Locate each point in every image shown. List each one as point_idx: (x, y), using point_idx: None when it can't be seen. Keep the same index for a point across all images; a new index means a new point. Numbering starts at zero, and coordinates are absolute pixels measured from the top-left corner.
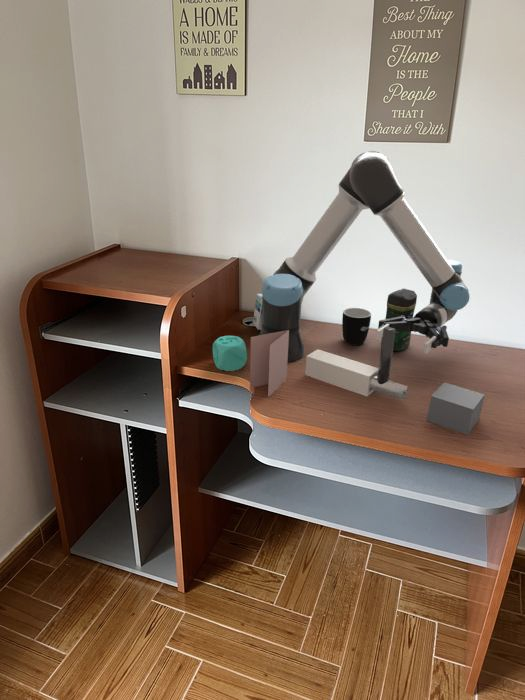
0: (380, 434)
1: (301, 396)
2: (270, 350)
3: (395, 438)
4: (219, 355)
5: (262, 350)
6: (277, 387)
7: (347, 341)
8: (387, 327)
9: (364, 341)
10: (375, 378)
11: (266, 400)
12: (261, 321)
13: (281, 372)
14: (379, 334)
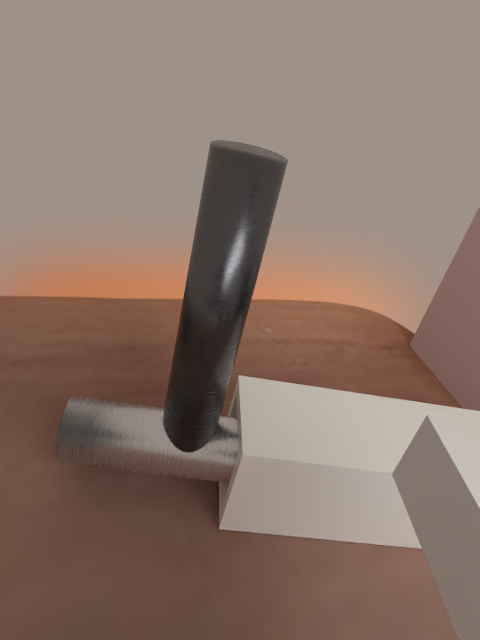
0: (103, 309)
1: (366, 372)
2: (472, 227)
3: (61, 306)
4: None
5: None
6: (440, 378)
7: None
8: (277, 163)
9: None
10: (223, 418)
11: (398, 336)
12: None
13: (472, 362)
14: (415, 446)
